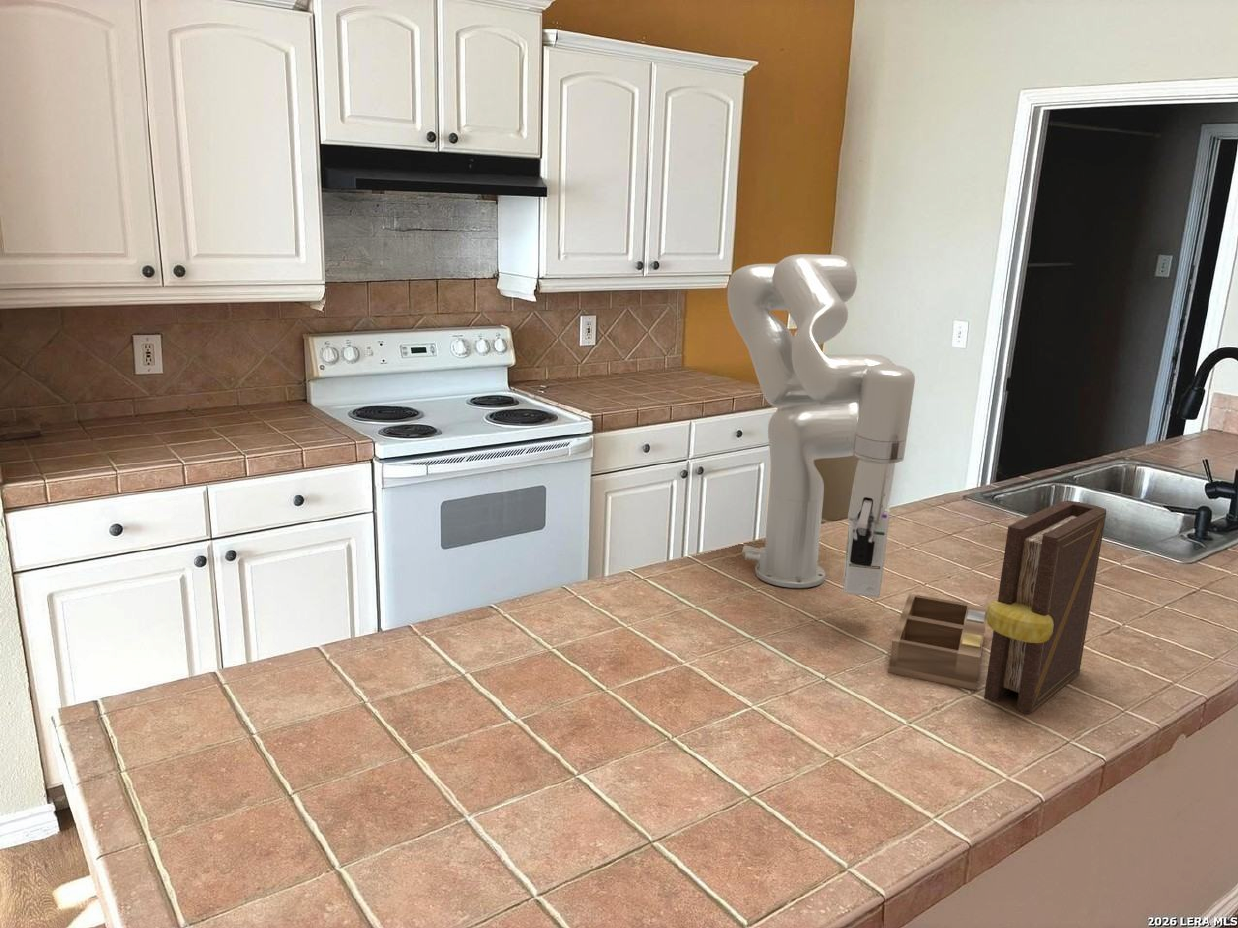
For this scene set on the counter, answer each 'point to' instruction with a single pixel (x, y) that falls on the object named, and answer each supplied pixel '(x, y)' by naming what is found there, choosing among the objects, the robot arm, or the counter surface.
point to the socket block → (939, 641)
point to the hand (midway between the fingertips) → (864, 555)
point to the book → (1043, 603)
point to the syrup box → (866, 577)
